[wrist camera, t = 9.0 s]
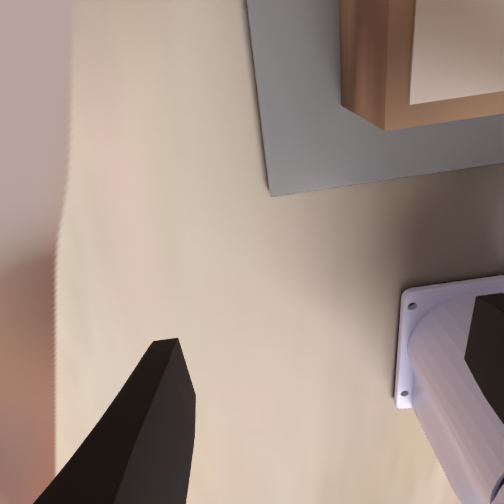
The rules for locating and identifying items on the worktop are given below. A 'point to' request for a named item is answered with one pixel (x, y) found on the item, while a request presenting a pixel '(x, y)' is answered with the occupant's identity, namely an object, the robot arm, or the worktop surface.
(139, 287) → the worktop surface
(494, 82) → the box stamped
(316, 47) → the coaster
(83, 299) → the worktop surface
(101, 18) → the worktop surface
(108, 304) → the worktop surface
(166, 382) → the robot arm
